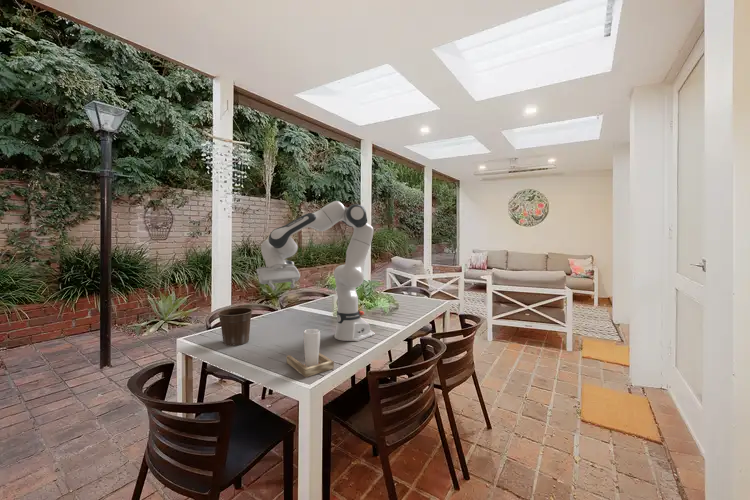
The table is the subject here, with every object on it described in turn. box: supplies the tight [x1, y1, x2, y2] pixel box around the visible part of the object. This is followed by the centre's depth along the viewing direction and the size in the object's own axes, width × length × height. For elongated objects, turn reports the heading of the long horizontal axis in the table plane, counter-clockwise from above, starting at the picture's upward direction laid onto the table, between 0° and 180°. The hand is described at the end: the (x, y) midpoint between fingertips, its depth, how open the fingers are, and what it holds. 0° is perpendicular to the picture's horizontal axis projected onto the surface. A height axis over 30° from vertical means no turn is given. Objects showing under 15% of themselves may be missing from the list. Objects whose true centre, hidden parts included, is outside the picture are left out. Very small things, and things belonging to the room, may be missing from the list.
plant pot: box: [217, 307, 253, 347], centre depth 161 cm, size 16×16×16 cm
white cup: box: [303, 328, 321, 367], centre depth 132 cm, size 7×7×15 cm
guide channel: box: [286, 352, 335, 378], centre depth 134 cm, size 13×18×3 cm
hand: (284, 288), depth 152 cm, fingers open, 8 cm apart
